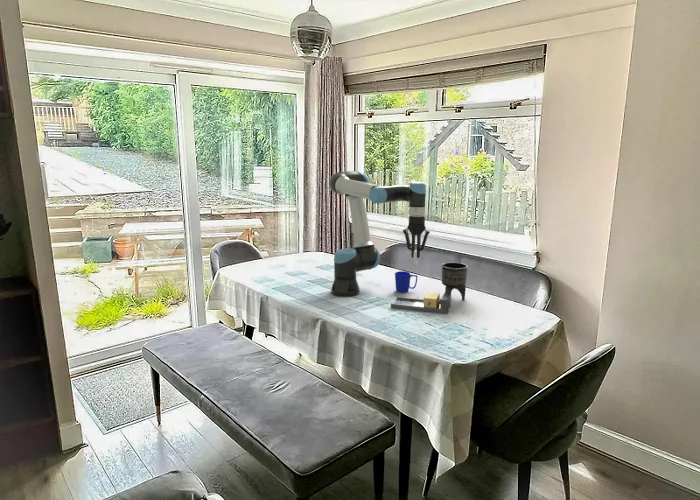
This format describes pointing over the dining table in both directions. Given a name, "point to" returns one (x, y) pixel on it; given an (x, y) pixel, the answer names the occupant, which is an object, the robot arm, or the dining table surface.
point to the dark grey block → (446, 301)
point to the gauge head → (432, 300)
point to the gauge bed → (415, 305)
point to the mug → (403, 281)
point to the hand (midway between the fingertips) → (415, 264)
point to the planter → (454, 277)
